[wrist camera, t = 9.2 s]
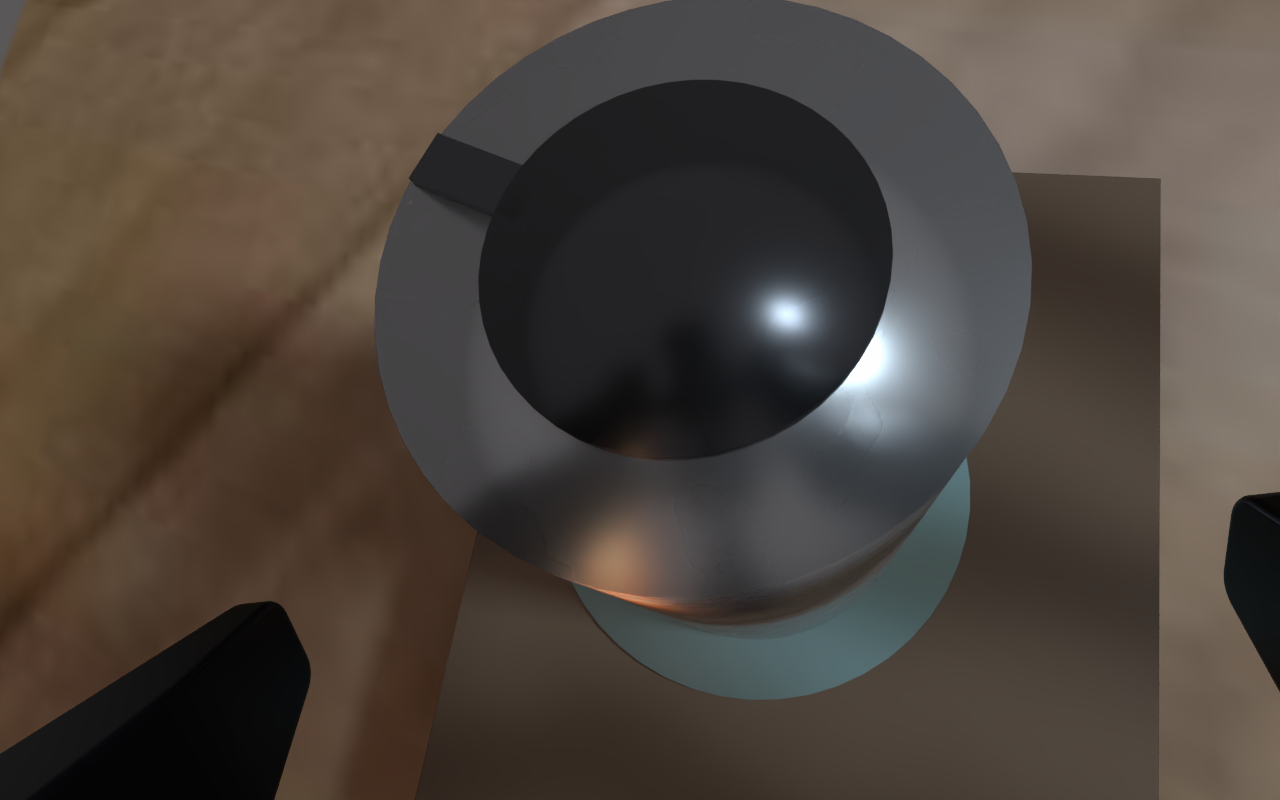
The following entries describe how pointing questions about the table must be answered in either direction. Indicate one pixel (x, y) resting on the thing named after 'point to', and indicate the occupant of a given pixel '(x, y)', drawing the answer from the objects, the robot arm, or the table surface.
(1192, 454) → the table surface
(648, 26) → the silver metal cylinder
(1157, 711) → the walnut board
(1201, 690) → the table surface
